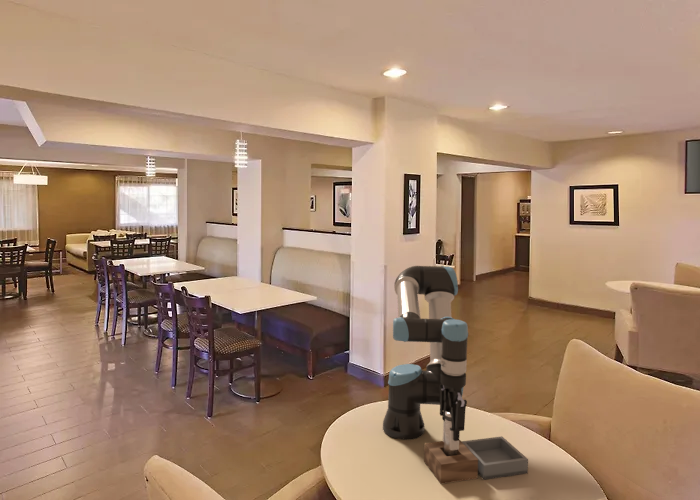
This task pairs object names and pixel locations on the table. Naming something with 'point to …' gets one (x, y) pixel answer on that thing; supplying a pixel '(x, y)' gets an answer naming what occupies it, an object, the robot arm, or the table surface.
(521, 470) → the tray
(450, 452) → the pin
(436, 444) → the wooden square socket block
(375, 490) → the table surface
